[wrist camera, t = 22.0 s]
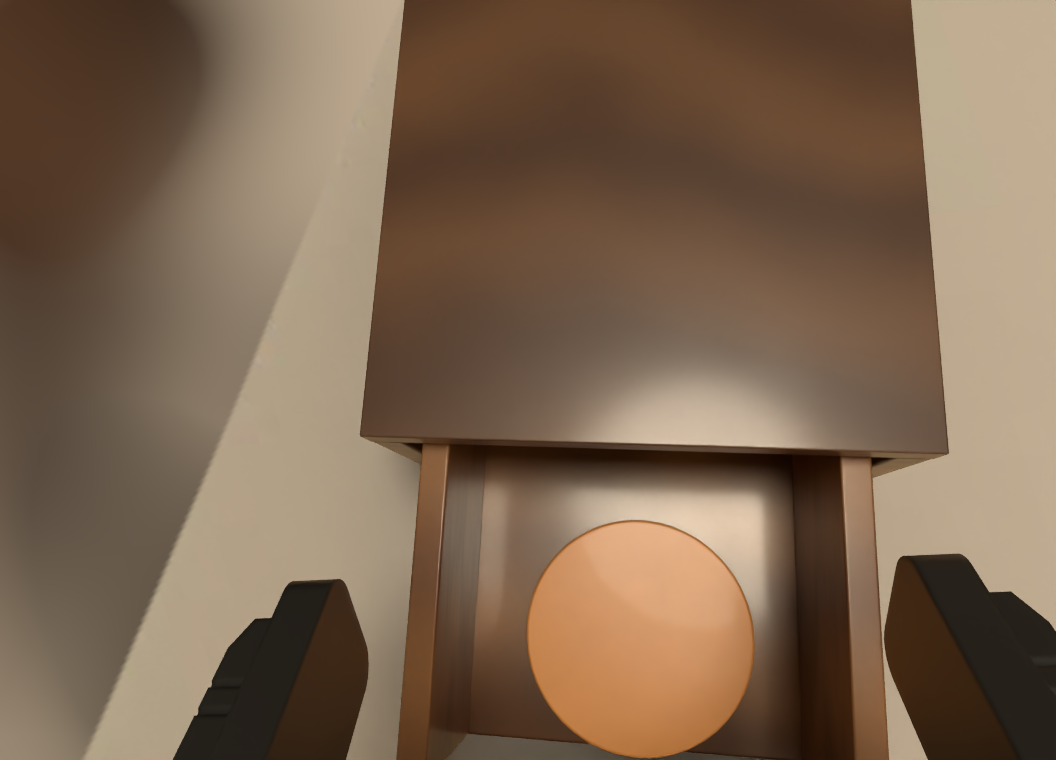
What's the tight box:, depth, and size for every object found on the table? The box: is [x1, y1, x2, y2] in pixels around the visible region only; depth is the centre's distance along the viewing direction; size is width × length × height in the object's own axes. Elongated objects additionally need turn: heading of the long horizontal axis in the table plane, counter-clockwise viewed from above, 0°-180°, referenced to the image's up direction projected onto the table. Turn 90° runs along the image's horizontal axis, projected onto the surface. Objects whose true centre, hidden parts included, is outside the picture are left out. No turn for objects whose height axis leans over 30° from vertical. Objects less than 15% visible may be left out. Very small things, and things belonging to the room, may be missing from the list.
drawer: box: [396, 443, 889, 760], centre depth 21 cm, size 18×14×7 cm
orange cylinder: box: [526, 520, 755, 758], centre depth 20 cm, size 5×5×8 cm
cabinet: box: [360, 0, 949, 478], centre depth 25 cm, size 15×15×9 cm
